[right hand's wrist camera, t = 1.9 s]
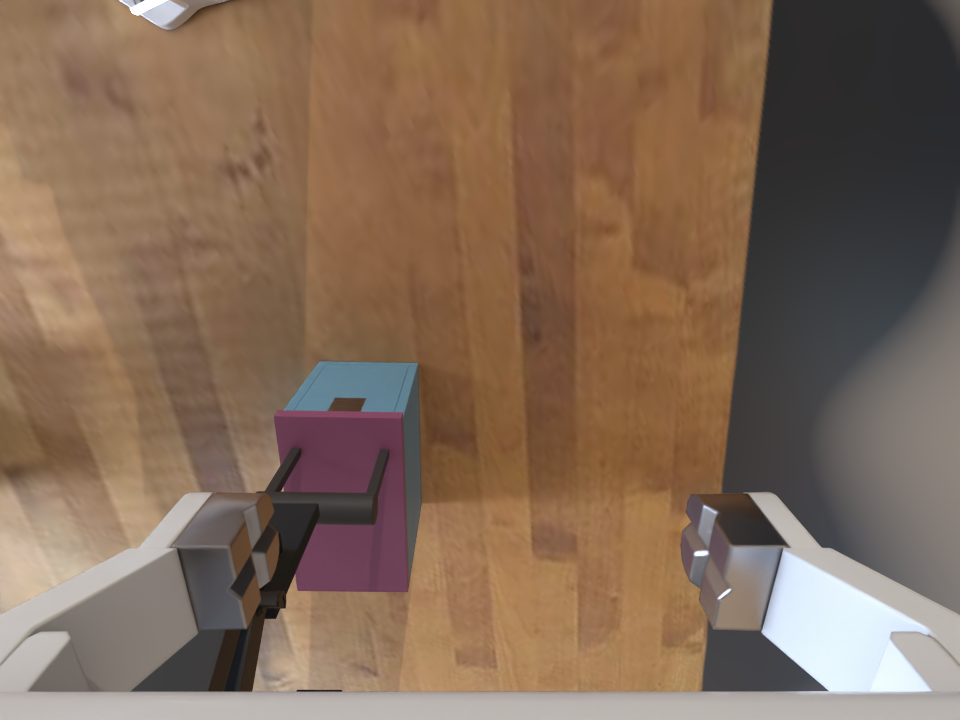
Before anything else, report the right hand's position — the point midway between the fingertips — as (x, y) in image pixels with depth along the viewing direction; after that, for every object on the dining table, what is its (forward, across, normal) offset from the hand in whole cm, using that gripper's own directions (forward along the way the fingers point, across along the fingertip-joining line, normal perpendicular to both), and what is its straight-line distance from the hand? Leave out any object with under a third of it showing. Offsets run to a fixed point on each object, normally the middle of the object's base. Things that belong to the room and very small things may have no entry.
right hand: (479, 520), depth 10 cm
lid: (+28, +11, +20) cm, 36 cm away
